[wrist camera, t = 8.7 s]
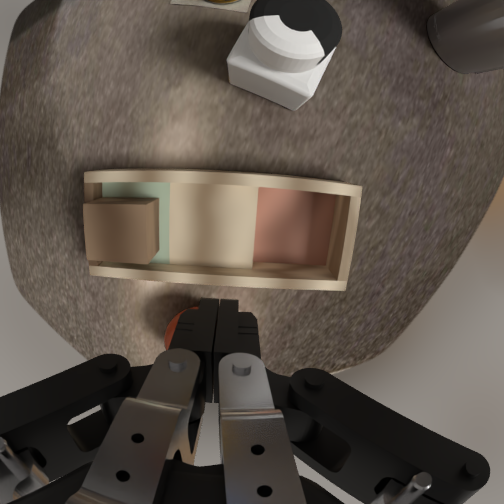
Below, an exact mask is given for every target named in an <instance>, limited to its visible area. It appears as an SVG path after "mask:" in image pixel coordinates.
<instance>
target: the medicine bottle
mask: <svg viewBox="0 0 504 504" xmlns="http://www.w3.org/2000/svg"><path fill="white" fill-rule="evenodd" d="M341 35H342V25H341V21H340V18H339V16H338V14H337V12H336V11H335V10H334V8H333V7H332V6H331V5H330V4H329V3H328V2H327V1H325V0H257V1H256V2H255V3H254V5H253V6H252V9H251V11H250V17H249V21H248V23H247V25H246V26H245V28H244V30H243V31H242V33H241V35H240V36H239V38H238V40H237V42H236V43H235V45H234V47H233V49H232V50H231V52H230V54H229V56H228V58H227V69H228V77H229V82H230V84H232V85H234V86H237V87H239V88H242V89H244V90H247V91H249V92H252V93H254V94H257V95H259V96H261V97H264V98H266V99H268V100H270V101H273V102H275V103H277V104H279V105H281V106H284V107H286V108H288V109H290V110H292V111H295V110H297V109H298V108H299V107H300V106H301V105H303V104H304V103H305V102H306V101H307V100H309V99H310V98H311V97H312V96H313V94H314V92H315V90H316V88H317V86H318V84H319V82H320V79H321V77H322V75H323V73H324V71H325V69H326V67H327V65H328V63H329V61H330V59H331V57H332V55H333V53H334V50H335V48H336V46H337V45H338V43H339V41H340V39H341Z"/></svg>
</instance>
